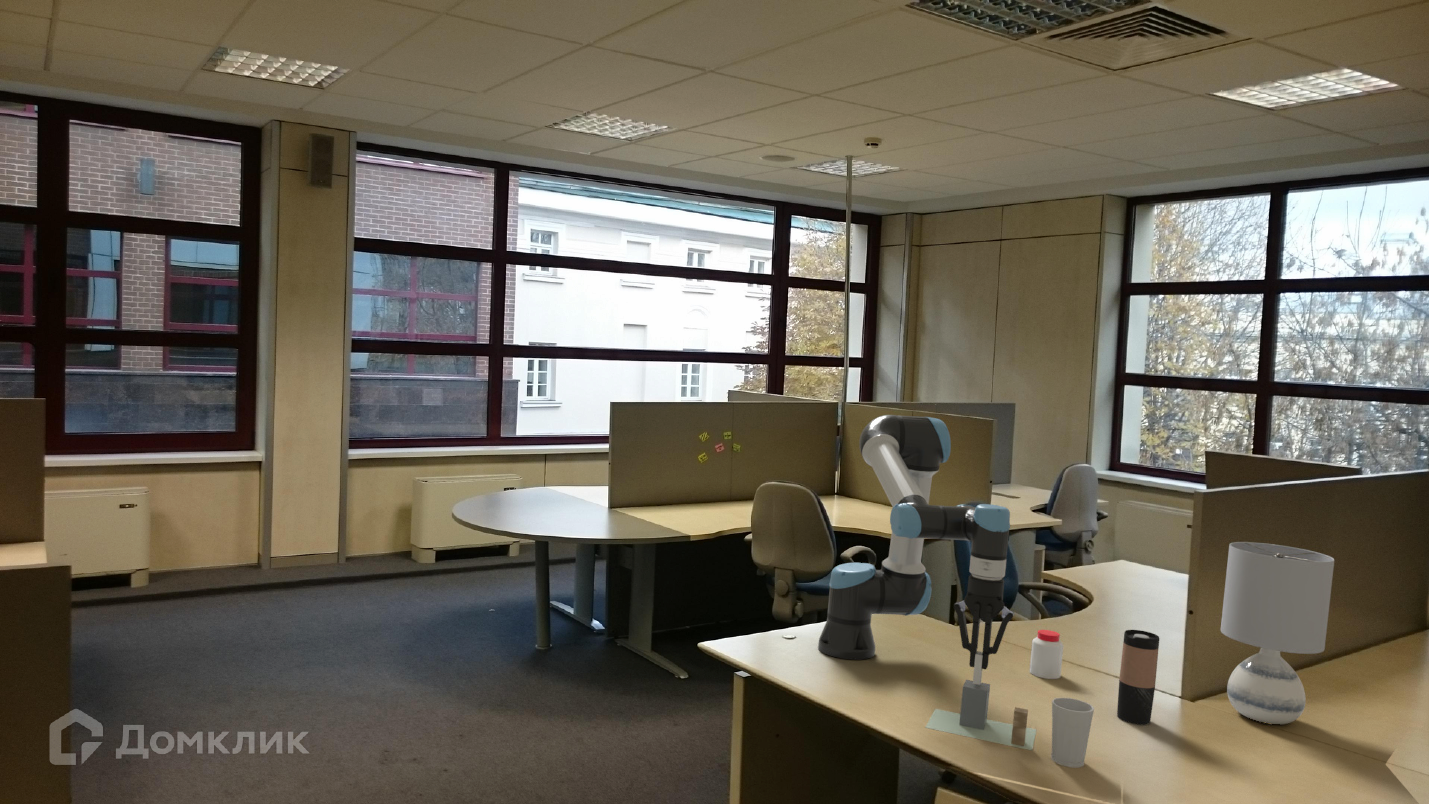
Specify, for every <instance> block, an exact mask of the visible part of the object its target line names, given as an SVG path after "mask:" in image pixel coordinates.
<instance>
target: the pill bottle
mask: <svg viewBox="0 0 1429 804" xmlns="http://www.w3.org/2000/svg"><path fill="white" fill-rule="evenodd" d="M1060 636H1061V634H1060V633H1059V632H1057V631H1055V630H1051V629H1039V630H1037V635H1036V637H1035V636H1034V638H1033V639H1032V641H1031V651H1030V652H1031V653H1030V661H1029V662H1030V663H1029V670H1028V671H1029V673H1030V675H1033V676H1035V677H1038V678H1042V679H1047V680H1048V679H1049V680H1058V679H1060V678H1061V676H1062V674H1061V673H1062V663H1063V654H1064V643H1063V642H1062V641H1061V640H1060Z"/></svg>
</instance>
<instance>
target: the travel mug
mask: <svg viewBox="0 0 1429 804" xmlns="http://www.w3.org/2000/svg"><path fill="white" fill-rule="evenodd" d="M1123 634H1124V635H1123V641H1122V651H1121V652H1122V654H1121V661H1120V669H1119V677H1118V678H1119V680H1118V681H1119V682H1118V695H1117V697H1118V698H1117V709H1116V710H1117V711H1116V717H1117V718H1118V719H1119V720H1121V721H1123V722H1126V723H1129V724H1133V725H1139V726H1146V725H1149V724H1150V723H1151V719H1152V712H1153V704H1154V696H1155V688H1156V682H1157V671H1158V670H1157V668H1158V657H1159V647H1160V636H1159V635H1157V634H1156V633H1154V632H1150V631H1145V630H1140V629H1127V630H1125V631H1124V632H1123Z"/></svg>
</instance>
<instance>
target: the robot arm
mask: <svg viewBox="0 0 1429 804" xmlns="http://www.w3.org/2000/svg"><path fill="white" fill-rule="evenodd" d="M858 443H859V445H858V446H859V452H860V454H861V457H862V458H863V460H864V461H865V463H866V464H867V465H868V466H870V467H871V468H872V469H873V472H874V473H875V476H876V478H877V479H878V481H879V483H880V485H881V487H882V489H883V491H884V493H885V496H887V499H888V501H889V503H890V504H891V506H892V509H891V511H890V514H889V515H890V516H889V523H890V529H891V534H890V535H891V536H890V545H889V551H888V557H886V558H885V559H884V560H882V561H881V569H876V567H875V565H874V564H871V563H867V562H862V563H861V562H847V563H842V564H839V565H837V566H835V567H834V568H833V569H832V571H831V574H830V580H829V584H828V586H829V593H828V604H827V605H828V606H827V615H826V616H827V617H826V622H825V624H824V627H823V629H822V631H821V634H820V636H819V638H818V647H817V648H818V650H819V652H821V653H823V654H825V655H828V656H829V657H834V658H838V659H843V660H856V661H857V660H858V661H859V660H868V659H871V658H873V657H875V655H876V643H875V640H874V635H873V630H872V626H871V623H872V616H873V615H894V616H895V615H896V616H898V615H899V616H910V615H911V616H914V615H920V614H921V613H923V612H924V611H925V610H926V609H927V607H928V605H929V603H930V600H931V596H932V580H931V576H930V575H929V574H928V572H926V571H927V570H926V566H925V565H924V564H923V563H922V557H923V548H924V542H925V539H931V540H932V539H937V540H952V541H953V540H956V541H968V542H971V546H970V547H971V548H970V550H971V551H970V557H969V559H970V560H969V569H968V570H969V573H970V575H969V576H968V579H967V580H968V581H967V591H966V595H965V596H964V600H962V601H959V602H958V601H956V602H955V603H954V604H953V610H954V611H955V613H956V615H957V620H958V621H957V622H958V627H959V633H960V638H961V639H960V641H961V647H962V648H963V649H964V650H967V651H969V653H970V654H969V663H968V664H969V667H970V668H973V675H972V681H973V684H978V685H980V683H982V678H983V670H987V669H988V667H989V656H990V655H996V654H997V653H998V651H999V648H1000V645H1001V642H1002V640H1003V638H1004V635H1005V632H1006V629H1007V627H1008V623H1009V622H1010V621H1011V620H1012V619H1013V617H1014V616H1015V612H1014V611H1013V610H1010V609H1009V608H1007V606H1005V601H1004V591H1005V590H1004V588H1005V580H1004V577H1005V576H1006V569H1007V556H1008V545H1009V538H1010V537H1009V536H1010V528H1011V524H1010V518H1011V511H1010V510H1009V509H1008V508H1007V507H1005V506H1003V505H997V504H990V503H989V504H988V503H987V504H986V503H981V504H978V505H976V506H974V505H970V504H969V505H968V504H963V503H962V504H958V505H956V506H953V505H951V506H950V505H936V504H929V502H930V496H931V488H932V480H933V476H934V475H936V474H937V473H938V472H939V471H940V465H941V464H943V463H947V461H948V460H949V457H950V456H951V450H952V449H951V448H952V447H951V446H952V445H951V444H952V443H951V436H950V432H949V429H948V427H947V425H946V423H945V422H944V421H943V420H941V419H940V418H935V417H930V416H918V415H915V416H913V415H895V414H884V415H880V416H878V417H876V418H874V419H872V420H871V421H869V422H868V424H867V425H866V426H865V427H864V428H863V430H862V432H861V433H860V436H859V442H858ZM966 607H967V610H969V612H970V615H971V616H973V617H972V629H971V641H970V639H969V632H968V625H967V619H966V613H965V611H966ZM1000 613H1001V618H1002V620H1001V623H1000V625H999V628H998V631H997V634H996V636H995V639H994V642H993V644H992V646H991V641H992V640H991V638H992V625H993V620H994V619H995V617H997V616H998V615H999V614H1000ZM981 619H983V620H984V632H983V643H982V645H983V646H982V651H979V650H978V648H979V647H978V646H979V636H980V623H981Z"/></svg>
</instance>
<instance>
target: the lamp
mask: <svg viewBox="0 0 1429 804" xmlns="http://www.w3.org/2000/svg"><path fill="white" fill-rule="evenodd" d="M1228 545H1229V546H1228V554H1227V555H1228V556H1227V566H1226V573H1225V574H1226V575H1225V583H1224V584H1225V585H1224V594H1223V602H1222V603H1223V604H1222V612H1221V613H1222V615H1221V624H1220V632H1221V634H1223V635H1224V636H1226V637H1227V638H1229V639H1231V640H1234V641H1236V642H1237V641H1238V643H1239V642H1240V643H1242V644H1246V645H1250V646H1253V647H1255V648H1259V652H1258V653H1257V652H1256V653H1255V654H1252V655H1251V656H1249V657H1247V658H1245V659H1244V660H1243V661H1241V662H1240V663H1239V664H1238V665H1237V666H1235V668H1234V670H1233V671H1232V672H1231V674H1230V675H1229V678H1228V681H1227V686H1226V692H1227V697H1228V700H1229V703H1230V704H1231V706H1232V707H1233V708H1234V709H1235V711H1237V712H1238V713H1239V714H1240V715H1242V716H1244V717H1246V718H1247V719H1249V718H1250V720H1251V719H1253V720H1252V721H1254V720H1256V721H1255V722H1257V721H1259V722H1258V723H1261V722H1266V723H1271V724H1270V725H1272V724H1280V725H1287V724H1290V723H1293V722H1294V721H1296V720H1298V719H1299V718H1300V717H1301V715H1302V714H1303V712H1304V710H1305V708H1306V700H1307V699H1306V693H1305V692H1306V691H1305V688H1304V685H1303V683H1302V681H1301V679H1300V677H1299V675H1298V673H1297V672H1296V671H1295V669H1294V668H1293V667H1292V666H1291V665H1290V664H1289V663H1288V662H1287V661H1286V660H1285V659H1284V658H1283V657H1282V656H1281V652H1284V653H1289V654H1300V655H1301V654H1303V655H1304V654H1306V655H1314V654H1319V653H1320V654H1321V653H1324V651H1325V649H1326V638H1327V631H1328V630H1327V629H1328V620H1329V613H1330V612H1329V611H1330V603H1331V596H1332V595H1331V594H1332V593H1331V592H1332V583H1333V574H1334V569H1335V559H1334V557H1332V556H1330V555H1326V554H1324V553H1320V552H1317V551H1312V550H1309V549H1304V548H1298V547H1293V546H1288V545H1281V544H1280V545H1279V544H1273V543H1272V544H1271V543H1263V542H1249V541H1235V542H1231V543H1229V544H1228Z"/></svg>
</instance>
